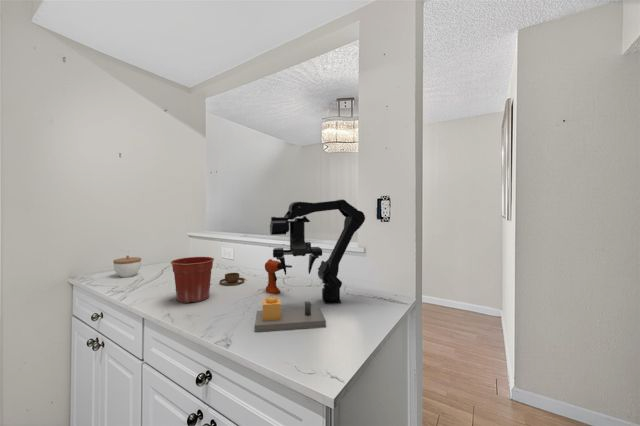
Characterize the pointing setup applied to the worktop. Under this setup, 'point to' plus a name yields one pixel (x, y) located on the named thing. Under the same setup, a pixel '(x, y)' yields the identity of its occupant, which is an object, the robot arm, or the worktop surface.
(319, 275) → the robot arm
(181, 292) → the flower pot
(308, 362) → the worktop surface
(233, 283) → the brown cup and saucer
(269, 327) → the grey peg board
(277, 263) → the toy drill
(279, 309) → the orange knobbed cube
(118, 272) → the lidded bowl
